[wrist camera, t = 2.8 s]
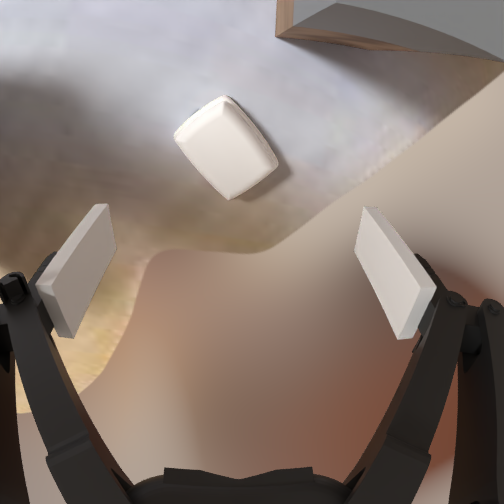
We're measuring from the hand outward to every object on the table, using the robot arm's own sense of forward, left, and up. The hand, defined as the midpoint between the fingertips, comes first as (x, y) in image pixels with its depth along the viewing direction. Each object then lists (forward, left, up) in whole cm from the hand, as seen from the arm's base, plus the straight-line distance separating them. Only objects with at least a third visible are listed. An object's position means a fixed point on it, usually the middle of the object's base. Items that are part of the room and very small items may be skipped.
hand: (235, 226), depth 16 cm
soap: (-1, 0, -16) cm, 16 cm away
